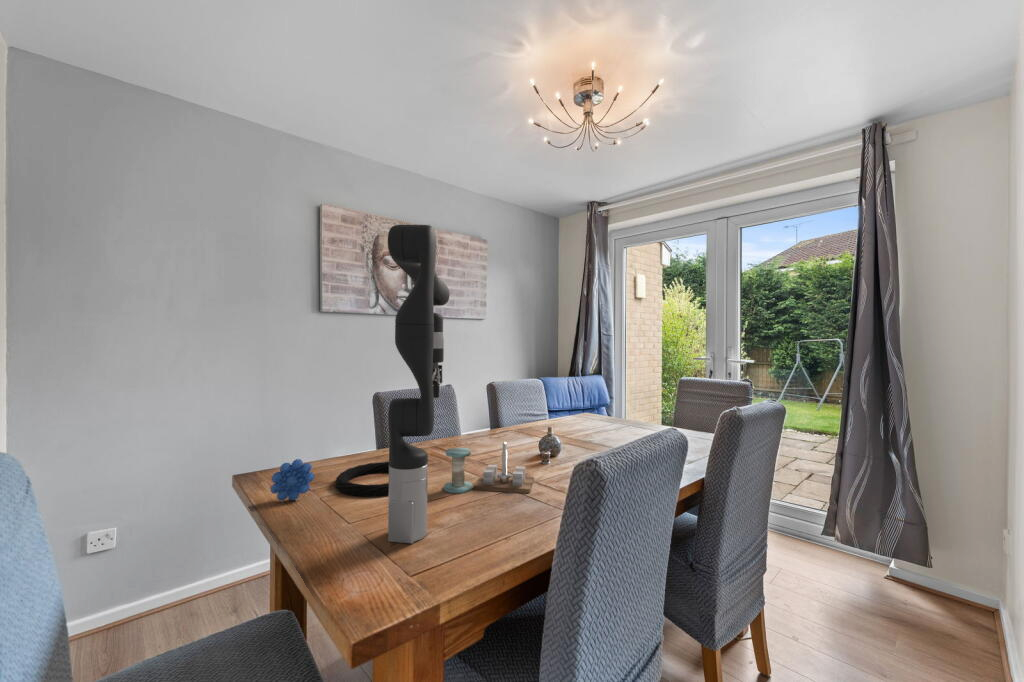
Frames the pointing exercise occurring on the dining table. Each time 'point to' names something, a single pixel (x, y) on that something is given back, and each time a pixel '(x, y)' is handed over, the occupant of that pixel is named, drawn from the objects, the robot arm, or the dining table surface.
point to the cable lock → (359, 488)
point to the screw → (504, 466)
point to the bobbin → (458, 471)
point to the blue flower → (292, 480)
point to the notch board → (513, 485)
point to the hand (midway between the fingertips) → (430, 399)
